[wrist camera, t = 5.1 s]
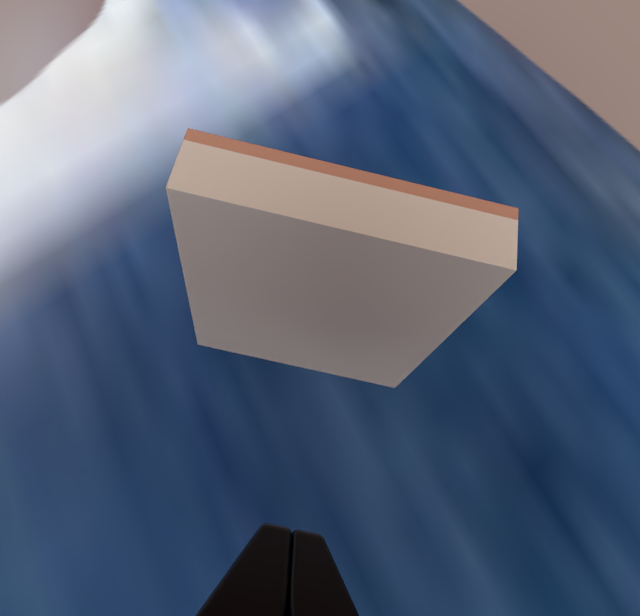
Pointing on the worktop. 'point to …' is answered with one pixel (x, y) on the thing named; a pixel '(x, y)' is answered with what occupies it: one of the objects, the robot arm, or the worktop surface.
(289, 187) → the tile
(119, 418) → the worktop surface
